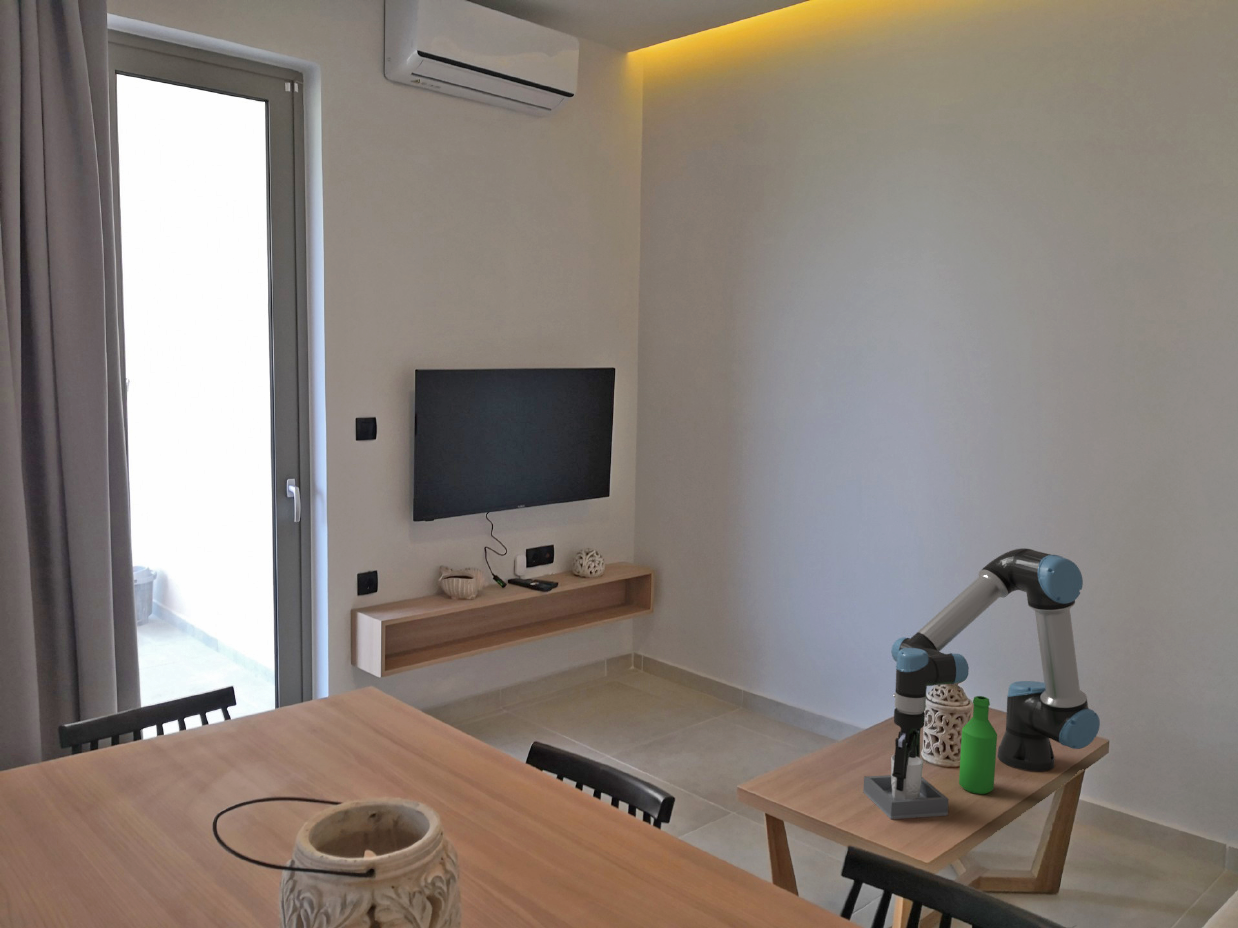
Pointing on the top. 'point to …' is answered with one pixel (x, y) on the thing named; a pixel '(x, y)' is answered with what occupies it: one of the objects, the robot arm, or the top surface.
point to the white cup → (910, 777)
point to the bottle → (978, 750)
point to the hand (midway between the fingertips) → (905, 795)
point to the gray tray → (925, 806)
